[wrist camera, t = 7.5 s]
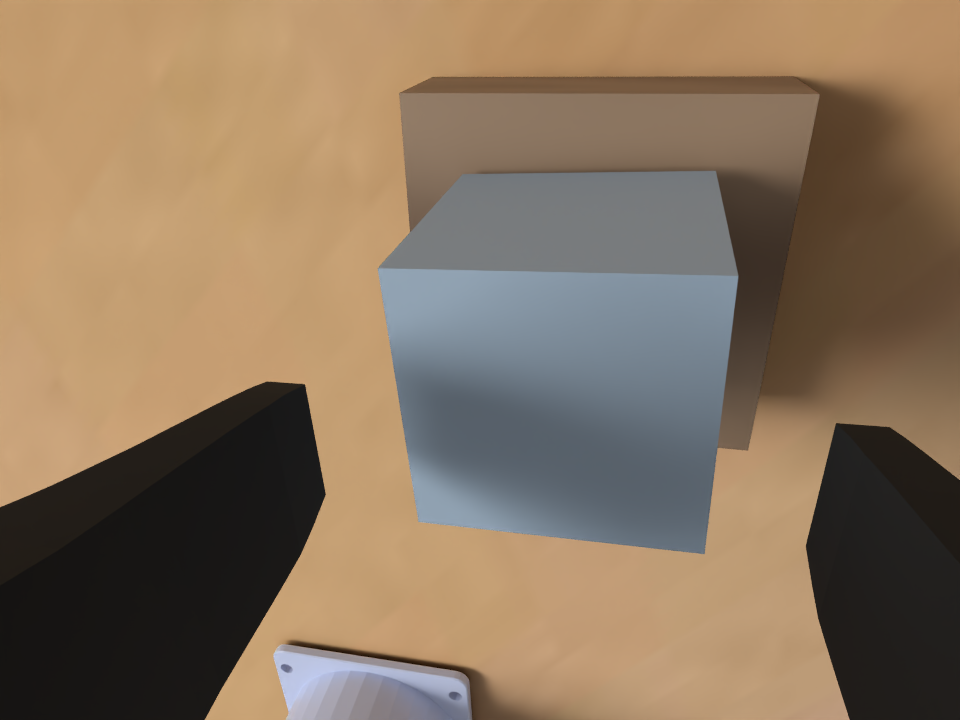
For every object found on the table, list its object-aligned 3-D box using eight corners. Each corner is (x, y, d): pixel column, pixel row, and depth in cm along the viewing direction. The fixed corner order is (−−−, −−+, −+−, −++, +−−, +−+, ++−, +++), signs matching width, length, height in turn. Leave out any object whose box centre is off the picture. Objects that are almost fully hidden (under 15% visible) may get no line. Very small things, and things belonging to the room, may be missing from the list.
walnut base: (733, 386, 19) (749, 456, 16) (452, 363, 20) (422, 424, 18) (790, 73, 15) (822, 96, 12) (436, 74, 17) (395, 94, 14)
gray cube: (694, 391, 16) (704, 553, 11) (480, 378, 17) (418, 522, 13) (715, 170, 13) (738, 275, 9) (462, 174, 14) (377, 268, 10)
